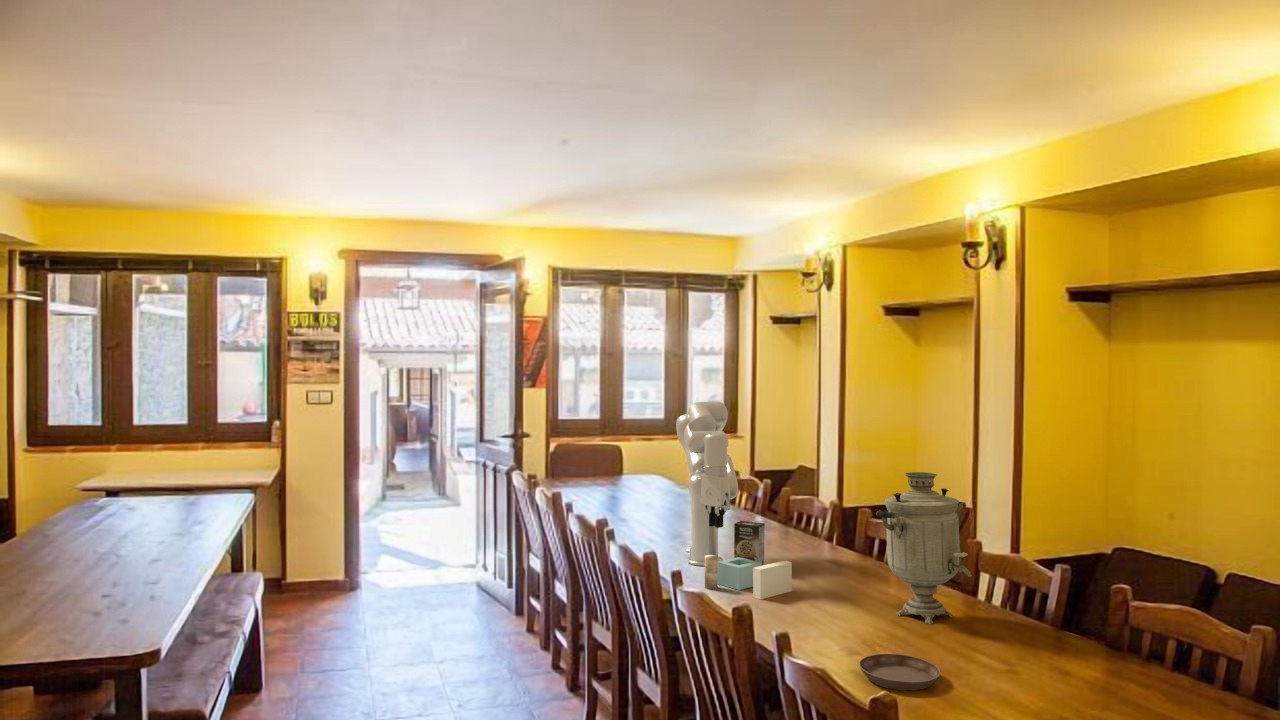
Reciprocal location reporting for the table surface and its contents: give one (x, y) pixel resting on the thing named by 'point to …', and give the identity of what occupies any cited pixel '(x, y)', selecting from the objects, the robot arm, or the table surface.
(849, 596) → the table surface
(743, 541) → the coffee box
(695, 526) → the robot arm
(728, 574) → the green square container
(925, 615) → the samovar
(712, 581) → the dowel
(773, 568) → the block
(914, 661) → the plant saucer
